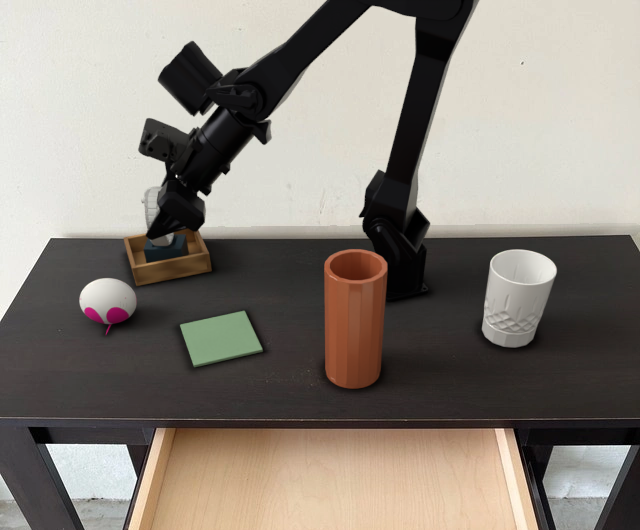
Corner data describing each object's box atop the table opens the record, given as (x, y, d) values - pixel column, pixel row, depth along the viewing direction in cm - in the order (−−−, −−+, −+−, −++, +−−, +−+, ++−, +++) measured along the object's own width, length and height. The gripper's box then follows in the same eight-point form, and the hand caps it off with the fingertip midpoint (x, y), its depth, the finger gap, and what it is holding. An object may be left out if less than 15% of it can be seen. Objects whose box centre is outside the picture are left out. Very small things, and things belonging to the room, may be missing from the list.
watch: (191, 245, 102) (179, 177, 95) (182, 274, 97) (169, 204, 89) (155, 246, 103) (140, 177, 95) (144, 274, 97) (128, 204, 89)
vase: (367, 348, 85) (372, 244, 74) (388, 381, 81) (397, 275, 70) (318, 360, 83) (316, 255, 73) (336, 394, 79) (337, 288, 68)
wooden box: (198, 241, 104) (195, 223, 102) (211, 271, 98) (209, 253, 96) (127, 254, 102) (123, 237, 100) (136, 286, 96) (132, 268, 94)
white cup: (499, 307, 91) (514, 242, 84) (550, 332, 87) (569, 266, 80) (465, 332, 87) (477, 266, 80) (516, 359, 83) (533, 292, 76)
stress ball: (90, 345, 91) (68, 330, 85) (94, 290, 93) (73, 271, 86) (143, 344, 91) (125, 329, 84) (146, 289, 92) (129, 270, 86)
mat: (244, 312, 91) (244, 310, 90) (262, 351, 85) (262, 349, 85) (180, 326, 89) (179, 324, 88) (194, 367, 83) (193, 365, 83)
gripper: (173, 74, 90) (111, 158, 97) (161, 128, 77) (90, 220, 84) (237, 130, 96) (173, 205, 103) (235, 189, 83) (163, 270, 90)
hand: (151, 222), depth 95 cm, fingers closed on watch, 8 cm apart
